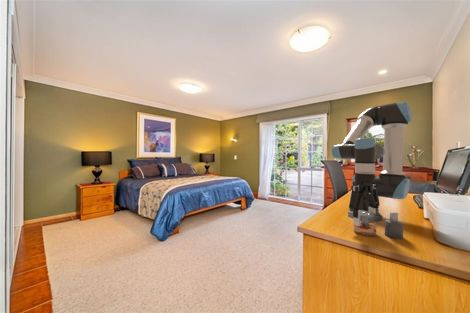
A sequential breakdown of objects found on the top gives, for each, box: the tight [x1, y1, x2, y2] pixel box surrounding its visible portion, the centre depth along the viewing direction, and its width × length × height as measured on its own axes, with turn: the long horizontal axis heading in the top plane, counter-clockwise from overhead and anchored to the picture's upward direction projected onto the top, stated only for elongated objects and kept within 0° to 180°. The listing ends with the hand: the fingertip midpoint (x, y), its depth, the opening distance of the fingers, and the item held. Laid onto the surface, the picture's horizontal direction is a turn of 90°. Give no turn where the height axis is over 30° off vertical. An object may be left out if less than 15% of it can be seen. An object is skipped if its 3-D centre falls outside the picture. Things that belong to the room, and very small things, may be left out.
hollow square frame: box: [347, 210, 383, 224], centre depth 85 cm, size 9×9×2 cm
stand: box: [384, 211, 404, 240], centre depth 82 cm, size 6×6×10 cm
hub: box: [352, 211, 377, 237], centre depth 85 cm, size 8×8×9 cm
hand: (364, 223), depth 85 cm, fingers closed on hollow square frame, 9 cm apart
